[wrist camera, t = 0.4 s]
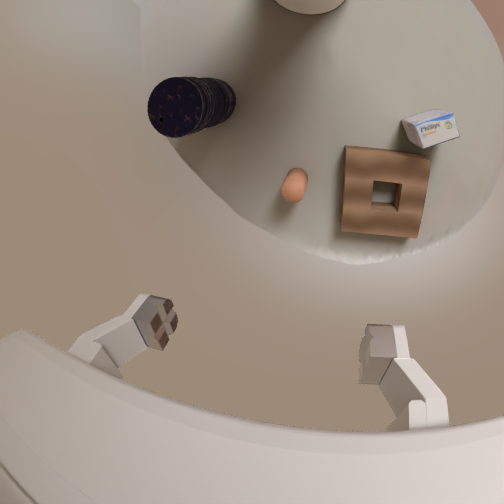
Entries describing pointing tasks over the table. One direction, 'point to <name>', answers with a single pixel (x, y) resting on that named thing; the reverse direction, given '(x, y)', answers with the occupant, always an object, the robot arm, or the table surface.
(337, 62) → the table surface
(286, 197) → the peg
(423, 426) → the robot arm
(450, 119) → the medicine box
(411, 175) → the socket block
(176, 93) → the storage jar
